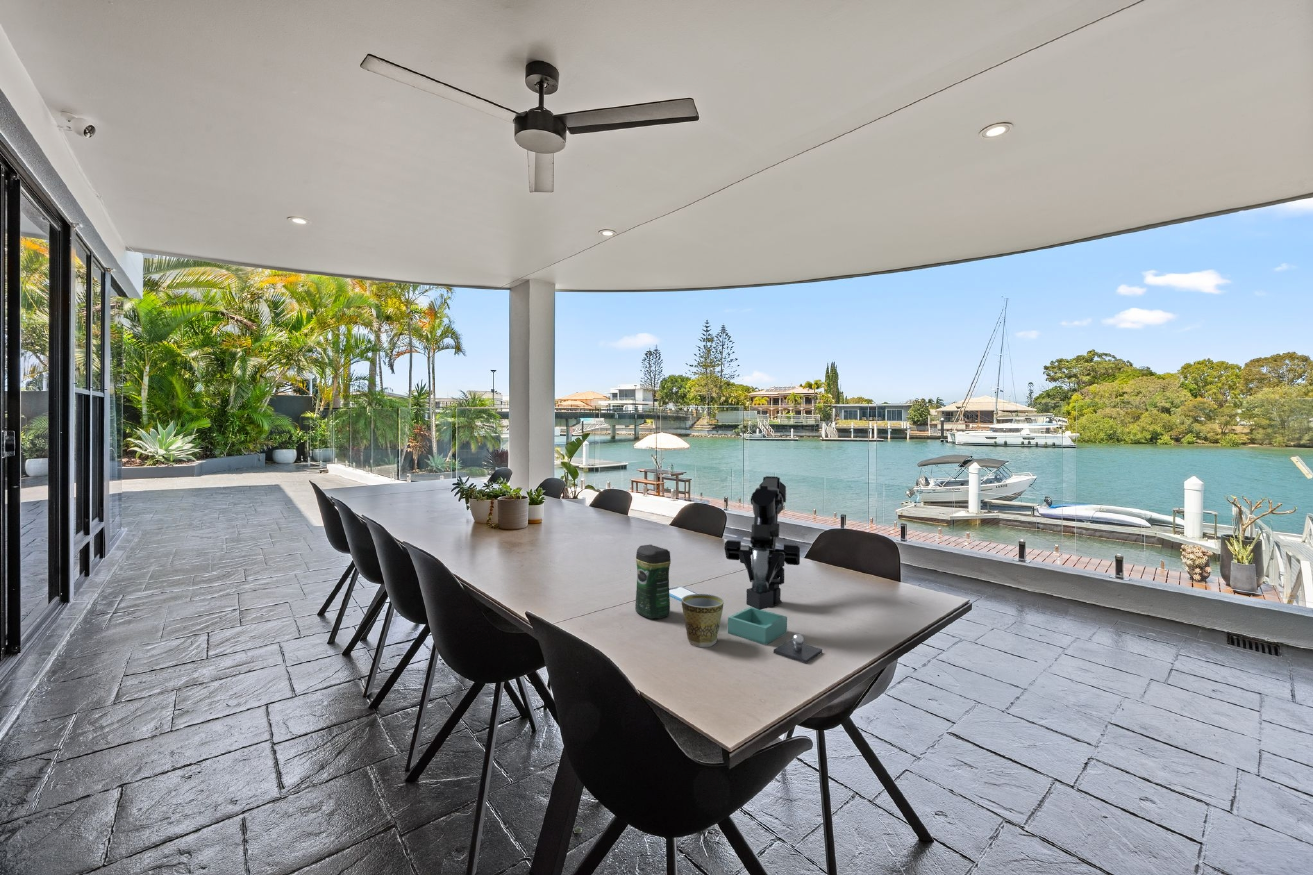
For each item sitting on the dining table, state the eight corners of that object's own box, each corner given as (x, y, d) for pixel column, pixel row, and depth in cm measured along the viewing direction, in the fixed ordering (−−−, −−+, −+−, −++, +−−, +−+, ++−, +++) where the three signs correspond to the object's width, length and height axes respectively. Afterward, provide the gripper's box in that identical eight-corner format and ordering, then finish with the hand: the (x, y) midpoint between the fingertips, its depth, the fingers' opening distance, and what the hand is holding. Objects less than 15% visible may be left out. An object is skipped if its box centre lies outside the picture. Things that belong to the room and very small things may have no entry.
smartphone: (692, 605, 154) (661, 590, 166) (692, 609, 154) (661, 593, 166) (712, 600, 158) (681, 586, 171) (712, 604, 158) (681, 589, 171)
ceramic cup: (728, 649, 125) (728, 606, 125) (685, 651, 123) (686, 608, 123) (713, 628, 138) (713, 589, 138) (674, 629, 136) (675, 590, 136)
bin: (727, 633, 135) (727, 617, 134) (750, 621, 142) (750, 606, 142) (765, 645, 128) (765, 628, 127) (786, 632, 135) (787, 616, 135)
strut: (746, 604, 135) (747, 549, 135) (760, 601, 138) (760, 546, 137) (759, 609, 131) (760, 553, 131) (773, 606, 134) (774, 550, 133)
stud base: (773, 653, 123) (773, 634, 123) (790, 642, 129) (790, 624, 129) (806, 663, 118) (806, 644, 118) (822, 652, 124) (822, 633, 124)
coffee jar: (674, 616, 146) (675, 547, 146) (651, 622, 141) (652, 551, 141) (653, 606, 154) (654, 541, 153) (630, 611, 149) (631, 544, 149)
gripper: (726, 508, 140) (718, 562, 130) (800, 513, 135) (798, 568, 125) (730, 532, 148) (723, 584, 138) (800, 537, 143) (798, 592, 132)
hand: (759, 582), depth 133 cm, fingers closed on strut, 4 cm apart
